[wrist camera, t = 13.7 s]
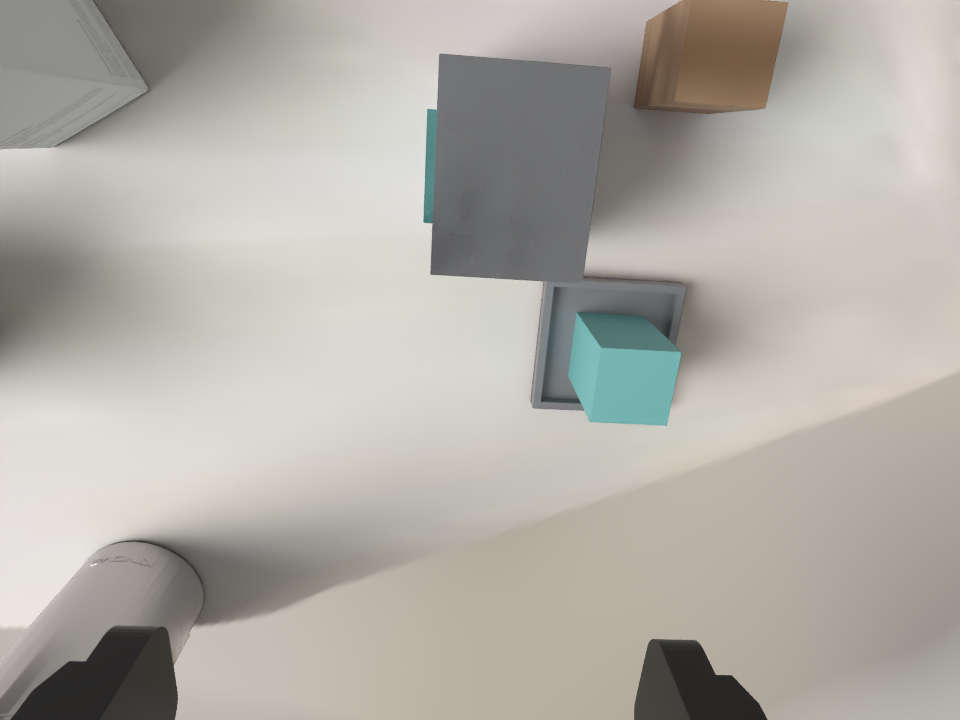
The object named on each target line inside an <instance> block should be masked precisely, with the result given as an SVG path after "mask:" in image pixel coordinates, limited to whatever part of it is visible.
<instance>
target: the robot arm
mask: <svg viewBox="0 0 960 720" xmlns="http://www.w3.org/2000/svg"><path fill="white" fill-rule="evenodd" d="M203 600H204V595H203V587H202V585H201V582H200V579H199V577H198V576H197V574H196V573H195V571H194V570H193V568H192V567H191V566H190V565H189V564H188V563H187V562H186V561H185V560H183V559H182V558H180V557H179V556H177V555H176V554H175V553H173V552H171V551H169V550H167V549H164V548H162V547H159V546H156V545H152V544H149V543H141V542H121V543H117V544H113V545H109V546H107V547H105V548H103V549H100V550H98V551H97V552H96V553H95V554H93V555H92V556H91V557H90V558H89V559H88V560H87V561H86V562H85V564H84V565H83V566H82V567H81V568H80V569H79V570H78V572H77V573H76V574H75V575H74V576H73V577H72V578H71V580H70V581H69V582H68V583H67V584H66V585H65V587H64V588H63V589H62V590H61V591H60V592H59V593H58V594H57V595H56V597H55V598H54V599H53V600H52V601H51V602H50V603H49V605H48V606H47V607H46V608H45V609H44V610H43V611H42V613H41V614H40V615H39V616H38V617H37V618H36V620H35V621H34V622H33V623H32V624H31V625H30V626H29V628H28V629H27V630H26V631H25V632H24V633H23V634H22V636H21V637H20V638H19V639H18V640H17V641H16V642H15V644H14V645H13V646H12V647H11V648H10V649H9V651H8V652H7V653H6V654H5V655H4V656H3V657H2V659H1V660H0V720H175V715H176V710H177V701H178V697H177V696H178V695H177V686H176V680H175V673H174V664H175V662H176V660H177V658H178V656H179V654H180V652H181V651H182V649H183V647H184V645H185V643H186V641H187V639H188V638H189V632H190V630H191V628H192V626H193V625H194V623H195V621H196V619H197V617H198V615H199V613H200V611H201V609H202V606H203ZM634 720H767V718H766V716H765V714H764V712H763V711H762V709H761V707H760V705H759V703H758V702H757V701H756V700H755V699H754V698H753V697H752V696H751V695H750V694H749V693H748V692H747V691H746V690H745V689H744V688H743V687H742V686H741V685H740V684H739V683H738V681H737V680H736V679H735V678H734V677H733V676H732V675H715V673H714V670H713V668H712V666H711V664H710V662H709V660H708V658H707V656H706V654H705V652H704V650H703V648H702V647H701V645H700V644H699V643H698V642H697V641H695V640H664V639H663V640H662V639H652V640H651V641H650V642H649V644H648V647H647V651H646V655H645V660H644V665H643V669H642V673H641V678H640V683H639V687H638V691H637V696H636V701H635V709H634Z"/></svg>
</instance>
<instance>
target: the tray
mask: <svg viewBox="0 0 960 720" xmlns="http://www.w3.org/2000/svg"><path fill="white" fill-rule="evenodd" d="M686 288H687V287H686V286H684V285H683V284H681V283H678V282H661V281H645V280H628V279H612V278H595V277H583V283H582V284H581V283H565V282H548V281H544V282H543V291H542V300H541V310H540V319H539V328H538V337H537V346H536V356H535V365H534V374H533V383H532V392H531V404H532V408H538V409H560V410H581V411H584V408H583V406H582V404H581V402H580V400H579V398H578V396H577V394H576V391H575V389H574V387H573V385H572V383H571V381H570V379H569V377H568V372H569V365H570V357H571V350H572V342H573V335H574V327H575V320H576V312H582V313H599V314H616V315H633V316H644V317H645V318H646V319H647V320H648V321H649V322H650V323H651V324H653V325H654V326H655V327H656V328H657V329H658V330H659V331H660V332H661V333H662V334H663V335H664V336H665V337H666V338H667V339H668V340H669V341H670V342H671V343H673V344H674V345H675V344H676V339H677V334H678V329H679V324H680V318H681V313H682V308H683V303H684V298H685V293H686Z"/></svg>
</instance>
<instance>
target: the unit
mask: <svg viewBox="0 0 960 720" xmlns="http://www.w3.org/2000/svg"><path fill="white" fill-rule="evenodd" d="M610 71H611V68H608V67H596V66H584V65H572V64H559V63H547V62H535V61H523V60H511V59H499V58H486V57H474V56H462V55H450V54H439V77H438V101H437V110H433V109H427V137H426V166H425V195H424V223H433V226H432V251H431V275H447V276H464V277H481V278H497V279H514V280H531V281H548V282H565V283H581V284H582V283H583V275H584V268H585V260H586V253H587V245H588V238H589V230H590V222H591V215H592V207H593V200H594V192H595V185H596V177H597V169H598V162H599V154H600V147H601V139H602V132H603V124H604V117H605V109H606V101H607V94H608V86H609V79H610Z"/></svg>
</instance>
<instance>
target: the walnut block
mask: <svg viewBox="0 0 960 720" xmlns="http://www.w3.org/2000/svg"><path fill="white" fill-rule="evenodd" d="M787 6H788V2H777V1H766V0H682V1H680V2H679V3H677V4H675V5H674V6H672V7H670V8H669V9H667V10H665V11H664V12H662V13H660V14H659V15H657V16H655V17H654V18H652V19H650V20H649V21H647V22H646V29H645V35H644V42H643V49H642V56H641V63H640V69H639V76H638V83H637V90H636V96H635V103H634V108H639V109H652V110H665V111H678V112H691V113H704V114H711V113H722V112H733V111H744V110H755V109H765V107H766V102H767V97H768V93H769V88H770V84H771V79H772V75H773V70H774V66H775V61H776V56H777V52H778V47H779V43H780V38H781V34H782V29H783V25H784V20H785V15H786V11H787Z"/></svg>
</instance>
